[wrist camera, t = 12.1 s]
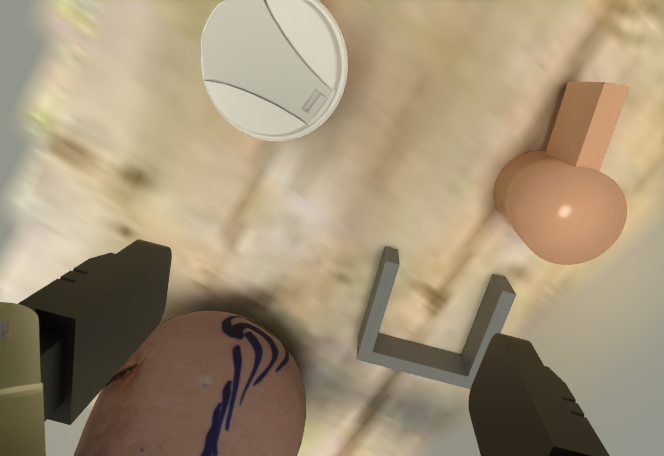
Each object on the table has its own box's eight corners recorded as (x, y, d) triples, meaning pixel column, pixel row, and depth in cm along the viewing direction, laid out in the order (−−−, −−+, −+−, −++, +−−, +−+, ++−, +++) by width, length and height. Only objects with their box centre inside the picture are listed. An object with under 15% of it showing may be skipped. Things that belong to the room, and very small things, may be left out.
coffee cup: (379, 60, 37) (379, 50, 23) (318, 139, 40) (284, 174, 26) (297, -9, 36) (245, -63, 22) (240, 77, 39) (160, 78, 25)
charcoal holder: (385, 246, 42) (385, 260, 39) (505, 277, 42) (516, 294, 39) (358, 338, 46) (356, 359, 42) (469, 367, 45) (476, 390, 42)
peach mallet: (527, 75, 37) (565, 75, 29) (615, 90, 36) (677, 94, 29) (484, 221, 41) (508, 254, 33) (563, 236, 40) (605, 273, 33)
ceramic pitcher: (234, 453, 52) (113, 769, 28) (95, 324, 48) (-178, 563, 25) (351, 374, 47) (323, 675, 23) (206, 223, 43) (-2, 400, 20)
